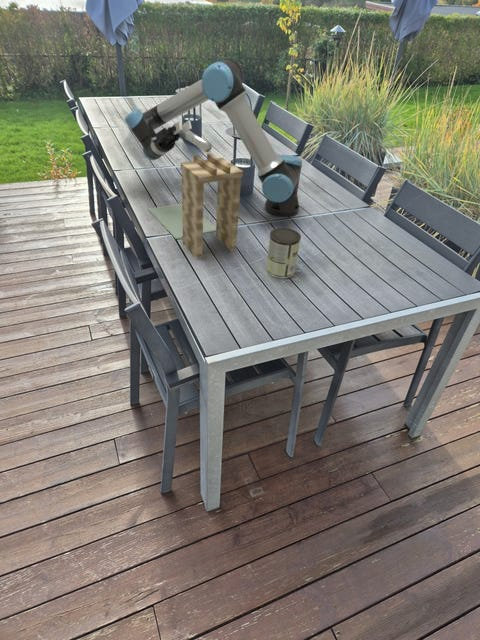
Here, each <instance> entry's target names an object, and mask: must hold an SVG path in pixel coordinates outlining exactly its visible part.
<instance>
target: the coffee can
mask: <svg viewBox="0 0 480 640" xmlns="http://www.w3.org/2000/svg"><path fill="white" fill-rule="evenodd" d="M301 237H302V235H301V233H299V232H298V231H297V230H295V229H291V228H289V227H278V228H277V227H276V228H274V229H271V231H270V232H269V241H268V251H267V260H266V267H265V271H266V273H267V274H268V275H269V276H271V277H273V278H277V279H289V278H292V277H293V276H295V273H296V267H297V260H298V255H299V248H300V243H301Z"/></svg>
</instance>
